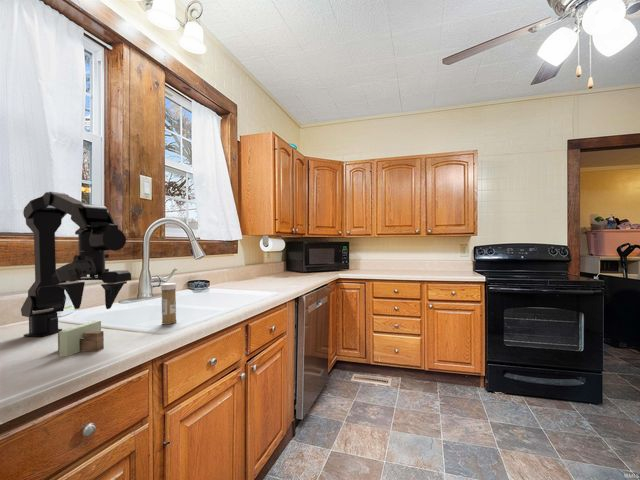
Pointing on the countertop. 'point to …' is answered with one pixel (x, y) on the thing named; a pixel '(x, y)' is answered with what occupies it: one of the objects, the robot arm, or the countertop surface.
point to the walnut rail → (90, 341)
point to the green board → (75, 337)
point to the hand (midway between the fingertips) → (92, 308)
